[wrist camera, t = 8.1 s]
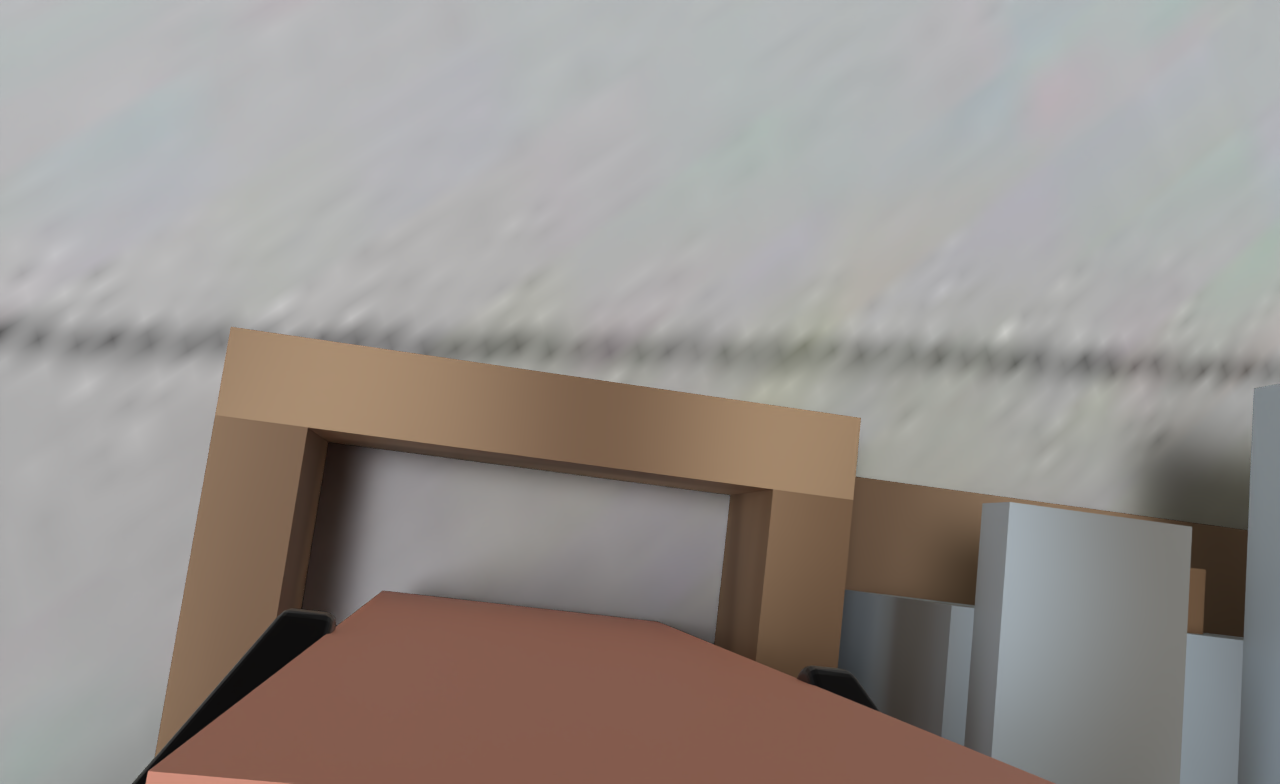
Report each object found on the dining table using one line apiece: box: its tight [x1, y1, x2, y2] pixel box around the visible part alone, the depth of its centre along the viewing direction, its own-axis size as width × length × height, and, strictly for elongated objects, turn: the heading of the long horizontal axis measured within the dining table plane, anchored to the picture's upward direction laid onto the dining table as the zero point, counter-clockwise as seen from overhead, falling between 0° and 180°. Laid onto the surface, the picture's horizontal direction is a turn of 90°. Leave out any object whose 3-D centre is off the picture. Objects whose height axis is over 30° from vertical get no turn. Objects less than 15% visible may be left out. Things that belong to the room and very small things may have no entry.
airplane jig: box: [155, 327, 1280, 784], centre depth 15 cm, size 23×11×6 cm, turn 83°
